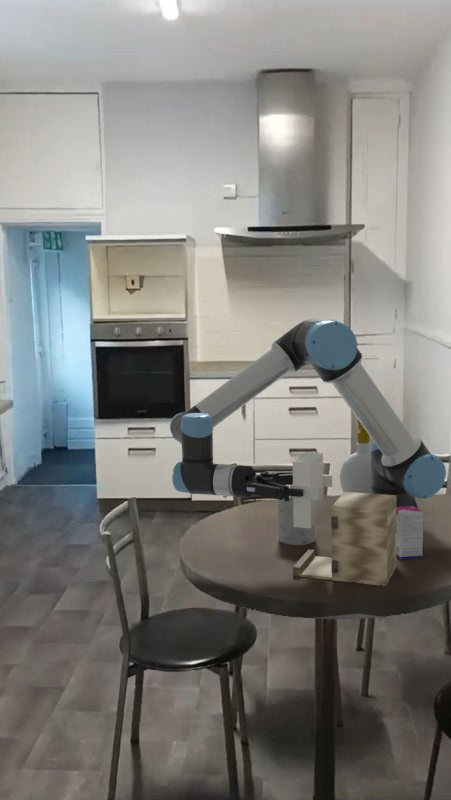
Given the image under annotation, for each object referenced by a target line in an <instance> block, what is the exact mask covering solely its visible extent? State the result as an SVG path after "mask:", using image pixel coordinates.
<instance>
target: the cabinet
mask: <svg viewBox="0 0 451 800" xmlns="http://www.w3.org/2000/svg"><path fill="white" fill-rule="evenodd" d="M330 520H331V523H330V524H331V525H330V527H331V557H329V556H319V555H317V556H316V555H315V551H316V550H315V549H307V551H305V553H304V554H303V555H302V556H301V557H300V558H299V559H298V560H297V562H296V563H295V564H294V565H293V566H292V576H293V577H300V578H307V579H308V578H309V579H310V578H311V579H318V580H327V581H335V582H344V583H353V582H355V583H356V584H362V583H363V584H362V585H371V586H380V585H382V586H381V587H387V585H388V583H389V582H390V579H391V578H392V577H393V574H394V571H395V570H396V567H397V556H396V495H384V494H369V493H355V492H344V493H343V492H342V495H341V496H339V498H337V499H336V501H335V502H334V503H333V504H332V505H331V518H330ZM390 577H391V578H390Z"/></svg>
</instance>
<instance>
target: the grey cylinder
mask: <svg viewBox="0 0 451 800" xmlns="http://www.w3.org/2000/svg"><path fill="white" fill-rule="evenodd" d="M277 501H278V502H277V503H278V504H277V505H278V508H277V509H278V513H277V514H278V541H279V542H280V543H282V544H286V545H289V546H290V545H292V546H302V545H303V546H304V545H308V544H309V545H310V544H312V543H315V541H316V524H315V525H314V526H313V527H312V528H300V527H294V523H293V498H290V496H289V501H284V499H283V500H279V499H277Z"/></svg>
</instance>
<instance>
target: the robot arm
mask: <svg viewBox="0 0 451 800" xmlns="http://www.w3.org/2000/svg"><path fill="white" fill-rule="evenodd" d="M362 359H363V354H362V353H361V351H360V350H359V348H358V341H357V337H356V335H355V333H354V332H353V330H352V329H351V328H350V327H349V326H347V325H346V324H345V323H342V322H341V321H338V320H335V319H320V318H310V319H306V320H303V321H301V322H299V323H298V324H296V325H295V326H293V327H291V328H290V329H289V330H288V331H287V332H285V333H284V334H283V335H282V336H279V338H278V339H276V340H275V341H273V342H272V344H271V348H270V349H269V350H268V351H267V352H265V353H264V354H263V355H262V356H259V357H258V358H257V359H256V360H255V361H253V362H252V363H250V364H249V365H248V366H246V367H245V368H244V369H242V370H241V371H240V372H238V373H237V374H235V375H234V376H232V377H231V378H230V379H229V380H227V381H226V382H224V383H223V384H222V385H220V386H219V387H218V388H216V389H215V390H214V391H212V392H211V393H210V394H208V395H207V396H206V397H204V398H203V399H202V400H200V401H198V403H196V404H195V405H194V406H192V407H191V408H190V409H188V410H186V411H185V412H184V411H183V412H179V413H176V414H175V415H174V416H173V417H172V419H171V420H170V424H169V431H170V433H171V435H172V437H173V439H174V440H175V441H177V442H178V443H179V444H181V456H182V458H181V459H182V460H181V461H179V462H177V463H176V464H175V465H174V467H173V470H172V472H173V473H172V476H171V481H172V485H173V488H174V489H175V491H177V492H180V493H186V494H191V495H210V496H222V497H223V499H226V498H227V497H236V498H246V499H247V498H251V497H252V496H253V495H254V496H259V497H264V498H269V499H275V500H278V499H279V500H283V499H284V501H289V496H290V498H303V499H317V500H318V499H319V487H313V486H298V485H293V470H291V471H290V470H288V471H285V470H283V471H273V470H272V471H271V470H266V471H264V472H260V474H257V473H256V471H255V469H254V467H253V466H251V465H242V464H241V465H239V464H237V465H236V464H225V463H223V464H221V463H214V444H213V443H214V441H213V440H214V439H213V436H214V433H213V432H214V428H215V427H216V426H218V425H219V424H220V423H222V422H223V421H224V420H226V419H227V418H229V417H230V416H232V415H233V414H234V413H235V412H237V411H238V410H239V409H241V408H242V407H243V406H246V404H247V403H249V402H250V401H252V400H253V399H254V398H256V397H257V396H258V395H260V394H261V393H263V391H264V392H265V390H267V389H268V388H269V387H270V386H272V385H273V384H274V383H276V382H278V381H279V380H281V378H283V377H284V376H286V375H287V374H289V373H291V374H295V373H296V372H298V371H299V370H300V369H302V368H304V367H306V366H310V365H311V367H313V369H314V370H315V371H314V372H316V373H317V374H318V376H319V377H320V379H321V380H322V382H324V383H326V384H332V385H333V386H334V388H335V390H336V391H337V392H338V394H339V395H340V396H341V397H342V399H343V400H344V402H345V404H346V405H347V406H348V407H349V409H350V411H351V412H352V413H353V414H354V416H355V418H356V420H357V419H358V420H359V422H360V423H361V424H362V426H363V427H364V429H365V430H366V431H367V433H368V434H369V436H370V439H371V440H372V442H371V449H370V452H371V494H384V495H396V507H406V506H415V507H416V508H418V509H419V510H420V508H419V505H418V501H417V499H428V498H431V497H433V496H435V495H436V494H437V493H438V492H439V491H440V490H441V489H442V488H443V486H444V484H445V480H446V477H447V470H446V465H445V463H444V462H443V461H442V459H441V458H439V457H438V456H437V455H436V454H433V453H431V452H430V451H429V450H428V447H427V446H426V445H425V444H424V442H423V441H422V439H421V437H419V436H417V435H411V434H410V432H409V431H408V429H407V428H406V427H405V425H404V424H403V422H402V421H401V419H400V418H399V417H398V415H397V413H396V412H395V410H394V409H393V408H392V406H391V405H390V403H389V402H388V400H387V399H386V397H384V395H383V393H382V392H381V391H380V389H379V388H378V386H377V385H376V383H375V382H374V381H373V379H372V377H371V376H370V375H369V374H368V372H367V371H366V369H365V368H364V366H363V365H362ZM358 420H357V421H358ZM324 487H326V488H327V487H328V488H332V487H333V475H332V474H323V488H324Z"/></svg>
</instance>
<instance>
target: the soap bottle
mask: <svg viewBox="0 0 451 800" xmlns="http://www.w3.org/2000/svg"><path fill="white" fill-rule="evenodd" d="M356 420H357V425H358V430H359V431H357V442H356V452H354V453H352V454H350V455H348V457H346V458H345V460H343V463H342V465H341V467H340V474H339V482H340V488H341V491H342V494H343V493H344V492H355V493H369V494H371V448H372V442H371V441H370V439H371V437H370V436H369V434H368V433H367V431H366V430H365V429H364V427H363V426H362V424H361V423H360V422H359V420H358V419H357V418H356Z"/></svg>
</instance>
